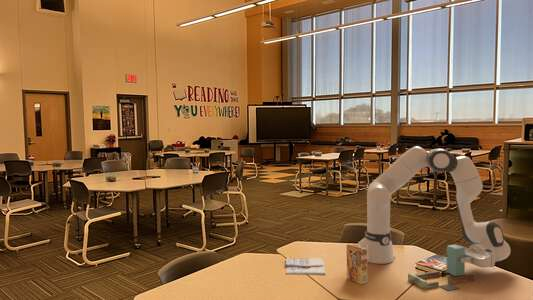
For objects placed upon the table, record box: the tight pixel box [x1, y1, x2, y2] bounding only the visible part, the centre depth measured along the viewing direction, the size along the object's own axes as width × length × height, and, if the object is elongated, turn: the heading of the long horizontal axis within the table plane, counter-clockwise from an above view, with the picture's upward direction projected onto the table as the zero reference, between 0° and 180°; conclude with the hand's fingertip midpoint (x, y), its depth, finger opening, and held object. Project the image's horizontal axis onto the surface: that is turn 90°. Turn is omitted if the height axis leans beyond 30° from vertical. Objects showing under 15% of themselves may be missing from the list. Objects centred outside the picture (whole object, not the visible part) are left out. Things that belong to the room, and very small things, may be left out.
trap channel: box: [407, 271, 475, 292], centre depth 178 cm, size 21×26×3 cm
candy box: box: [346, 243, 368, 285], centre depth 178 cm, size 9×4×15 cm, turn 33°
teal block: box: [446, 243, 466, 277], centre depth 180 cm, size 5×5×12 cm
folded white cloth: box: [285, 257, 326, 276], centre depth 197 cm, size 19×20×2 cm
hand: (454, 257), depth 180 cm, fingers closed on teal block, 5 cm apart
